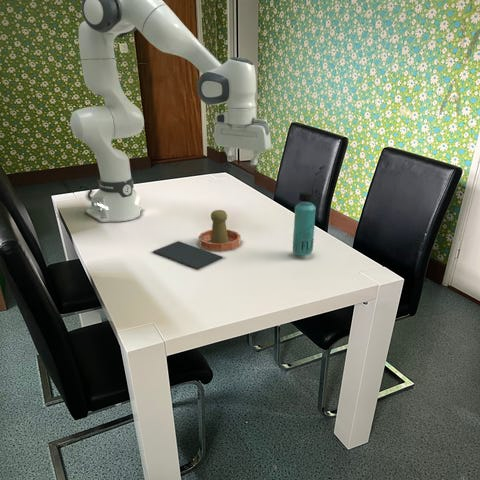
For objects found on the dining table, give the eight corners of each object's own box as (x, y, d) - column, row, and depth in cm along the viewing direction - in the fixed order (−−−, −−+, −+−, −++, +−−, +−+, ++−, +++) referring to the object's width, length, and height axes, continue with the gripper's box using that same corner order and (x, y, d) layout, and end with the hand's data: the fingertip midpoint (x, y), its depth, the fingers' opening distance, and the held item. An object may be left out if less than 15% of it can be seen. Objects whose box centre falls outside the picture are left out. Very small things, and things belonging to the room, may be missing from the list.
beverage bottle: (299, 261, 142) (303, 196, 132) (287, 253, 147) (290, 191, 137) (316, 257, 145) (322, 193, 134) (304, 250, 150) (309, 188, 139)
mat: (153, 252, 149) (153, 251, 148) (178, 242, 156) (178, 241, 155) (197, 269, 138) (197, 268, 137) (222, 258, 145) (222, 256, 144)
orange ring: (190, 244, 155) (190, 237, 153) (218, 232, 163) (218, 226, 162) (220, 254, 147) (220, 247, 146) (248, 242, 156) (248, 235, 154)
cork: (231, 240, 157) (230, 209, 151) (224, 247, 152) (224, 214, 146) (214, 238, 158) (213, 207, 153) (207, 245, 154) (206, 213, 148)
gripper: (275, 118, 141) (274, 165, 148) (222, 113, 152) (224, 157, 159) (263, 120, 137) (263, 168, 144) (210, 116, 147) (212, 160, 155)
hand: (242, 162), depth 152 cm, fingers open, 8 cm apart
